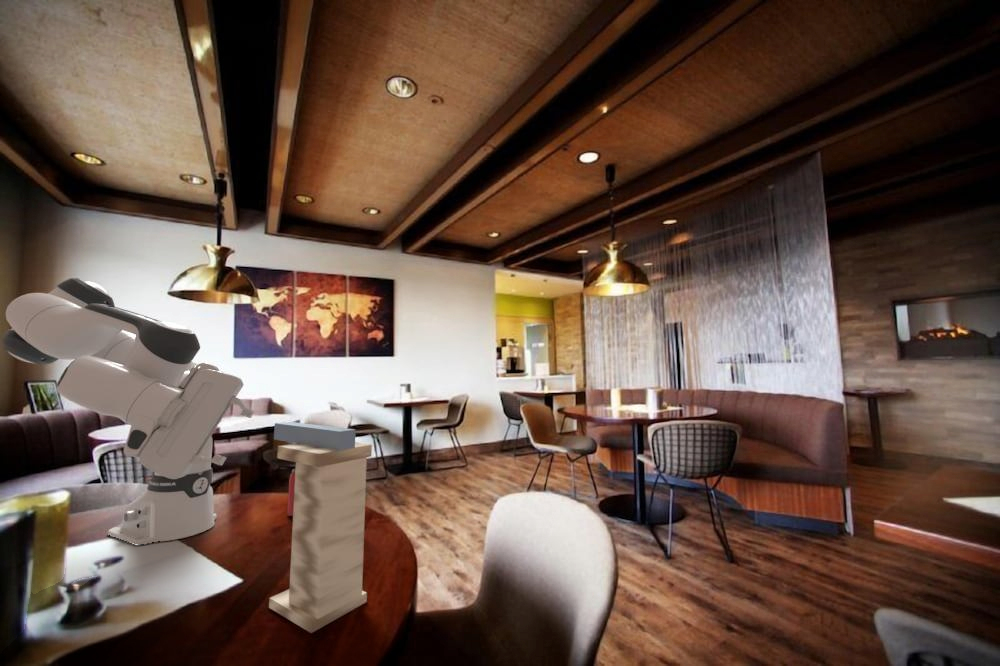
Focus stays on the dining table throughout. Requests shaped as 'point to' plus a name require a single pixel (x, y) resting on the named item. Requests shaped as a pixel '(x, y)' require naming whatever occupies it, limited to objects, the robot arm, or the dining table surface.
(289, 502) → the beer can
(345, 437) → the block
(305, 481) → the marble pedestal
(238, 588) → the dining table surface
